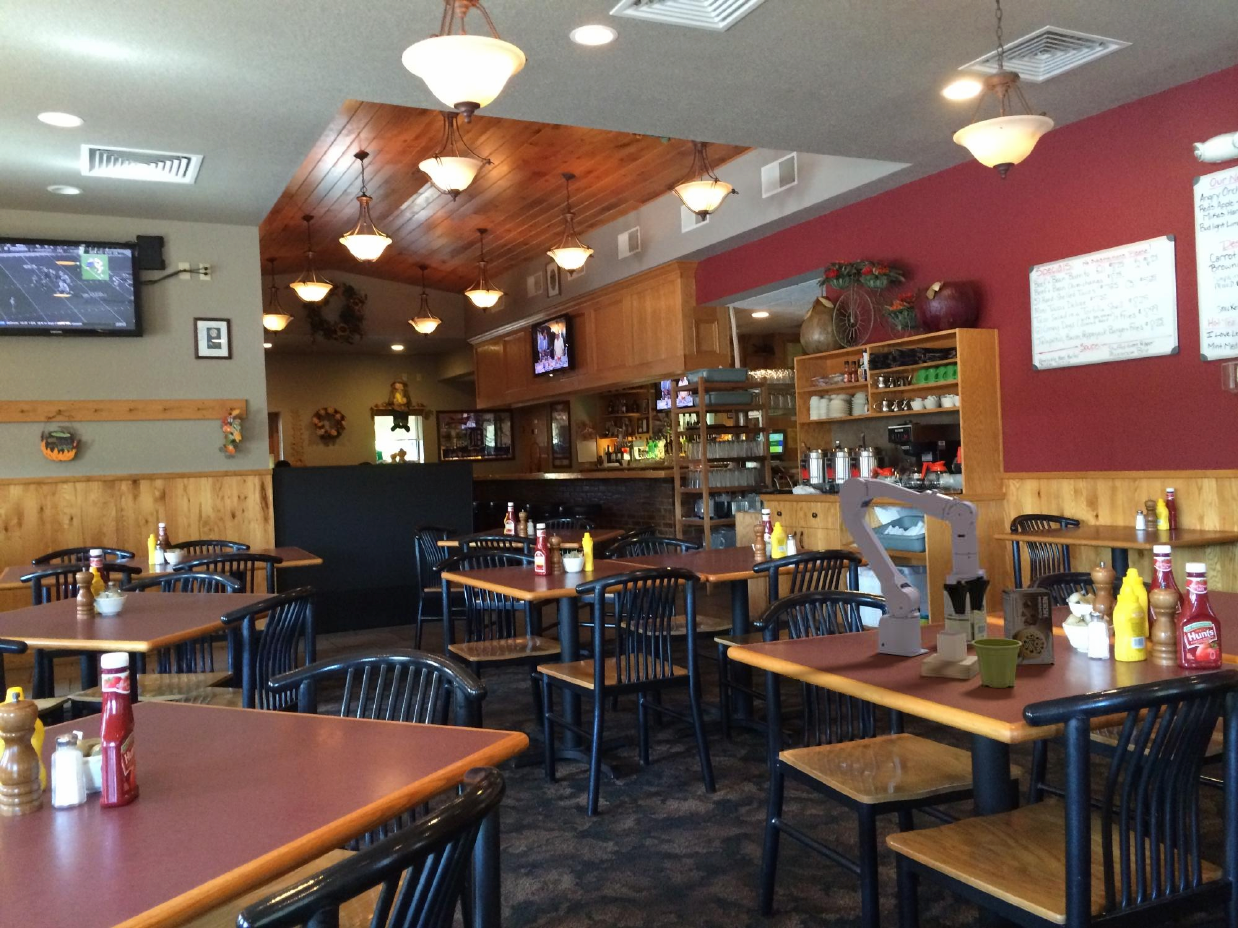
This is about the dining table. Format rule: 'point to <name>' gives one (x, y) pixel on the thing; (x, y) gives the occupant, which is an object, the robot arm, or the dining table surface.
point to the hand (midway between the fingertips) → (968, 612)
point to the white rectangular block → (951, 645)
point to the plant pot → (997, 661)
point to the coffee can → (966, 619)
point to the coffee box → (1029, 624)
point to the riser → (950, 667)
